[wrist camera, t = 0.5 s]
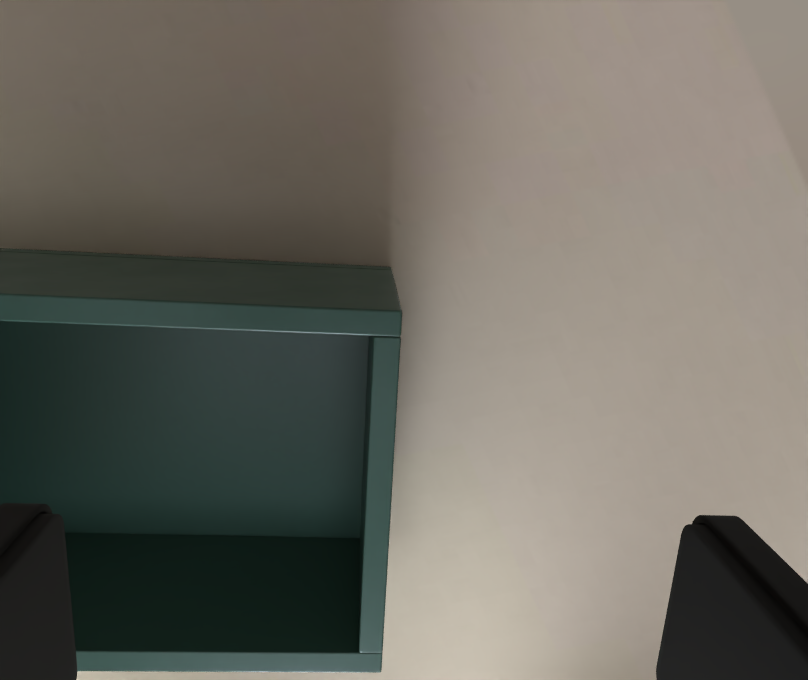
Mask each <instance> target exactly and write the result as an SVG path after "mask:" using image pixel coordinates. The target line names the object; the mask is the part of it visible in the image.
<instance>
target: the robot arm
mask: <svg viewBox="0 0 808 680" xmlns="http://www.w3.org/2000/svg"><path fill="white" fill-rule="evenodd" d="M656 676H657V680H808V584H807V583H806V582H805V581H804V580H803V579H802V578H801V577H800V576H799V575H798V574H797V573H796V572H795V571H794V570H793V569H792V568H791V567H790V566H789V565H788V564H787V563H786V562H785V561H784V560H783V559H782V558H781V557H780V556H779V555H778V554H777V553H776V552H775V551H774V550H773V549H772V548H771V547H770V546H768V545H767V544H766V543H765V542H764V541H763V540H762V539H761V538H760V537H759V536H758V535H757V534H756V533H755V532H754V531H753V530H752V529H751V528H750V527H749V526H748V525H747V524H746V523H745V522H744V521H743V520H742V519H740V518H739V517H737V516H715V515H699V516H697V517H696V518H695V519H694V521H693V523H692V525H691V524H688V525H686V526H685V527H684V529H683V531H682V534H681V539H680V544H679V550H678V555H677V560H676V566H675V571H674V576H673V582H672V587H671V592H670V598H669V603H668V608H667V614H666V619H665V624H664V630H663V635H662V640H661V646H660V651H659V656H658V662H657V668H656ZM76 678H77V657H76V647H75V636H74V625H73V614H72V604H71V593H70V582H69V572H68V561H67V550H66V539H65V529H64V521H63V518H62V516H61V515H60V514H52V511H51V509H50V507H49V506H48V505H47V504H39V503H3V504H2V505H0V680H76Z"/></svg>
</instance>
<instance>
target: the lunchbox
mask: <svg viewBox="0 0 808 680" xmlns="http://www.w3.org/2000/svg"><path fill="white" fill-rule="evenodd" d="M401 325H402V310H401V306H400V301H399V297H398V293H397V289H396V285H395V281H394V276H393V272H392V269H391V267H384V266H363V265H342V264H321V263H300V262H279V261H258V260H237V259H216V258H196V257H175V256H154V255H133V254H112V253H91V252H70V251H49V250H28V249H7V248H0V505H2V504H3V503H39V504H47V505H48V506H49V507H50V509H51V511H52V514H60V515H61V516H62V518H63V521H64V529H65V539H66V550H67V561H68V572H69V582H70V593H71V604H72V614H73V625H74V636H75V647H76V657H77V671H168V672H381V668H382V650H383V633H384V616H385V599H386V582H387V565H388V548H389V531H390V514H391V496H392V479H393V462H394V445H395V428H396V411H397V394H398V377H399V360H400V343H401V338H400V335H401Z"/></svg>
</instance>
